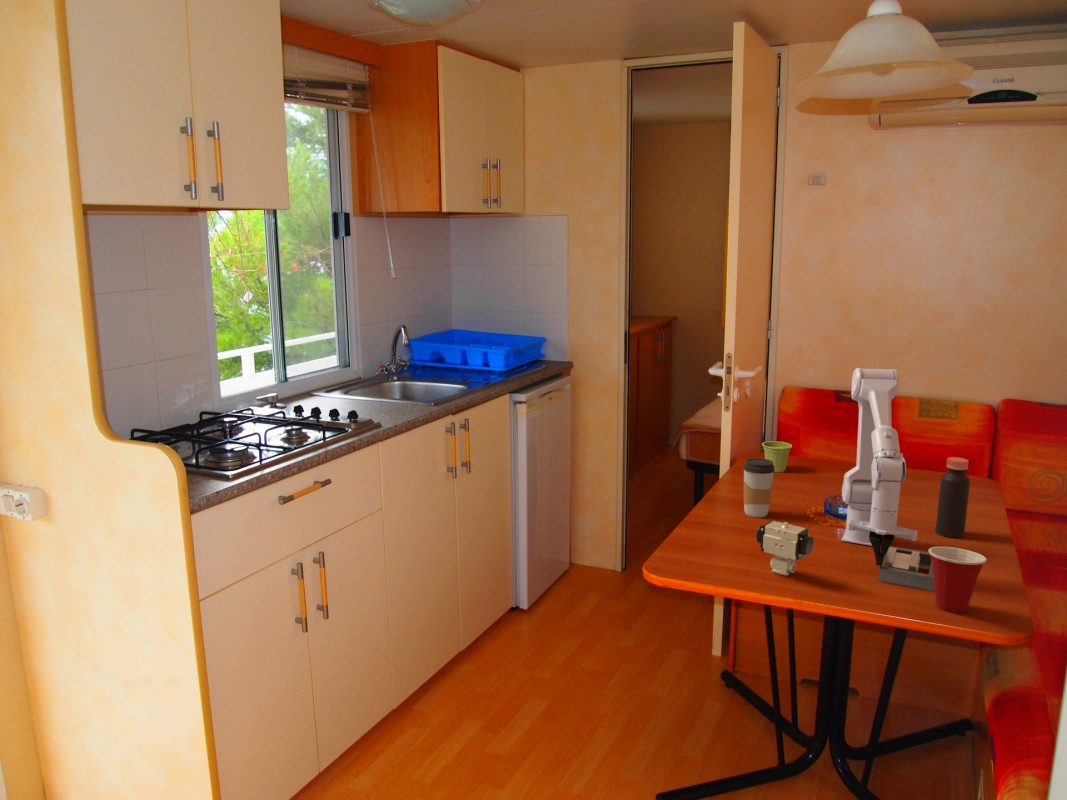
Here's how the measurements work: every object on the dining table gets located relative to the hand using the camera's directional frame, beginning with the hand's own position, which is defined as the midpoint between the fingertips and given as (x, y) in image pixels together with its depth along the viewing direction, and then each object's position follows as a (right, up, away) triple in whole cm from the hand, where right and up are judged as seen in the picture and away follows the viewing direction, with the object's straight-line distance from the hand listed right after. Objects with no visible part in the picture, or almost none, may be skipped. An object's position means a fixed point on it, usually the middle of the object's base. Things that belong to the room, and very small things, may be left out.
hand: (879, 564), depth 197 cm
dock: (+5, -2, -2) cm, 6 cm away
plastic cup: (+7, -5, -20) cm, 22 cm away
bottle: (+28, +3, +24) cm, 37 cm away
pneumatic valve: (-24, -2, -3) cm, 24 cm away
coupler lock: (+4, -2, -2) cm, 5 cm away
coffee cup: (-19, +6, +38) cm, 43 cm away
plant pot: (-1, +15, +82) cm, 83 cm away
